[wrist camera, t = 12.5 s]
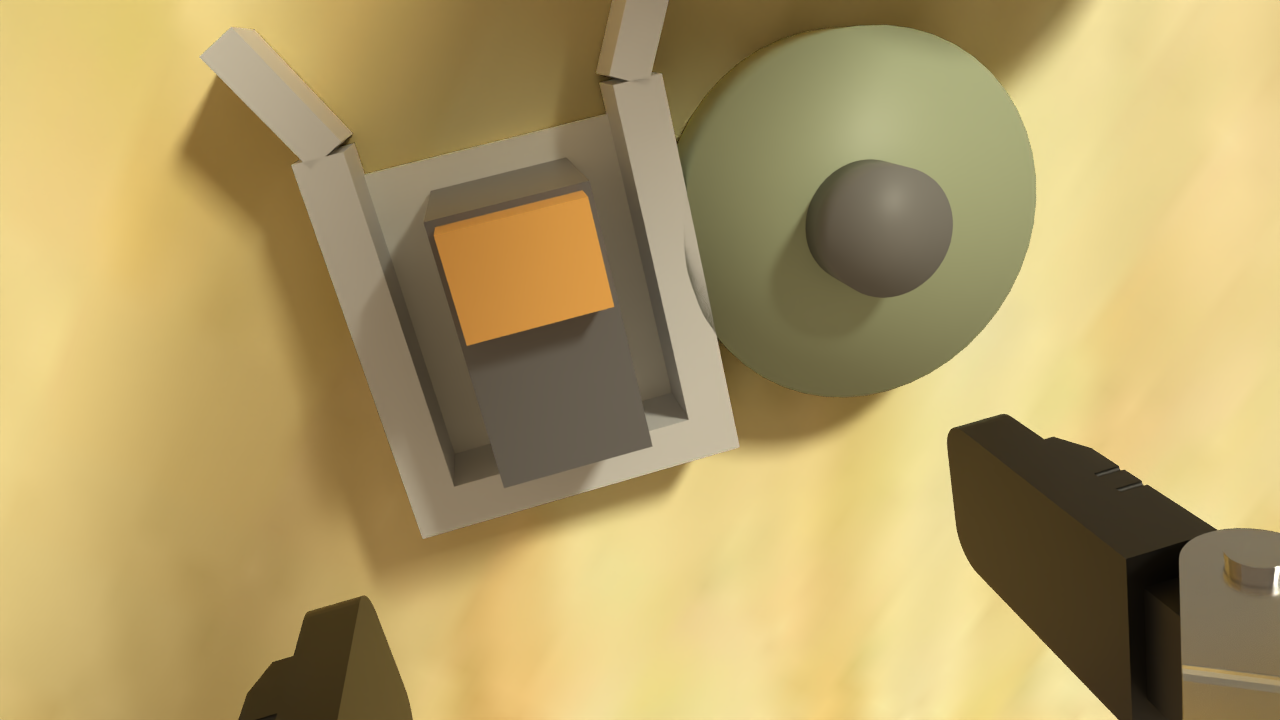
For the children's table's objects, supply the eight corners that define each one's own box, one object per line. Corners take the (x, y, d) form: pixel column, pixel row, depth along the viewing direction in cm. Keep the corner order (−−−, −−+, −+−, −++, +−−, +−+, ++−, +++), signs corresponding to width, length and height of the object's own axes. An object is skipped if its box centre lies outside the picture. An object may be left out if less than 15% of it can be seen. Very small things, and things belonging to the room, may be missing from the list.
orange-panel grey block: (430, 190, 30) (421, 230, 23) (566, 157, 31) (595, 186, 24) (497, 414, 33) (506, 507, 26) (620, 380, 33) (660, 463, 26)
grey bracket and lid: (218, 37, 28) (169, 34, 23) (958, -135, 30) (1050, -170, 26) (389, 509, 34) (377, 583, 29) (1003, 333, 36) (1085, 375, 31)
